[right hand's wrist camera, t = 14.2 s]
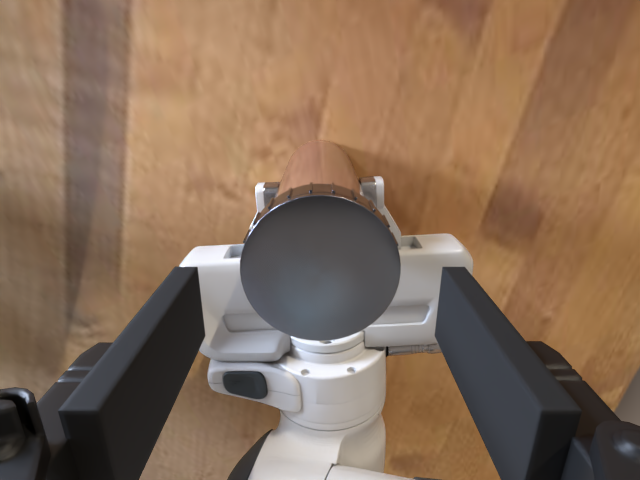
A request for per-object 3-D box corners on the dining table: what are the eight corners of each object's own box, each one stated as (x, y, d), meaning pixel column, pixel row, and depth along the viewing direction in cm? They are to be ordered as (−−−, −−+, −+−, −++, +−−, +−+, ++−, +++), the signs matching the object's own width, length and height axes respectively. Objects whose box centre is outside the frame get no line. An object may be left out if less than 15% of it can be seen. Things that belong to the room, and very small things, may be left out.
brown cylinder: (282, 144, 32) (240, 210, 15) (350, 136, 32) (384, 194, 15) (291, 209, 34) (263, 332, 17) (355, 202, 34) (392, 320, 17)
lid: (233, 190, 16) (222, 202, 15) (390, 172, 16) (399, 183, 14) (259, 324, 19) (252, 349, 17) (397, 310, 18) (406, 334, 17)
